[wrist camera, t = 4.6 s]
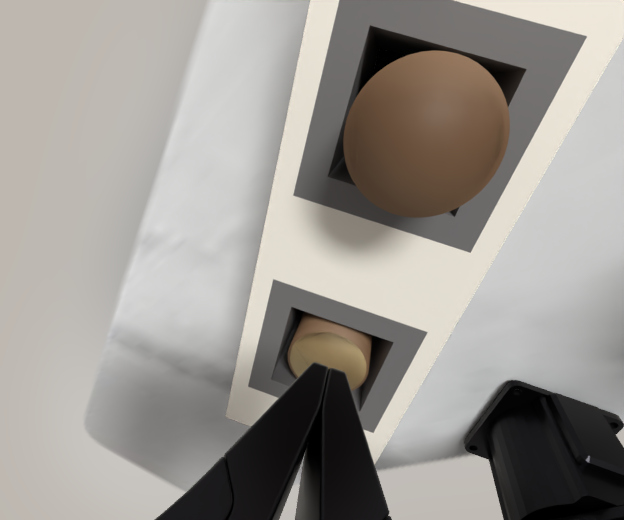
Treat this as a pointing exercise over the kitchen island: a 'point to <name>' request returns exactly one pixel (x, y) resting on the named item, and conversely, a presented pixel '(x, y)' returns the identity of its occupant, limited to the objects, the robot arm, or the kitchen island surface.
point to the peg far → (330, 348)
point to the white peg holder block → (393, 228)
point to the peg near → (426, 134)
